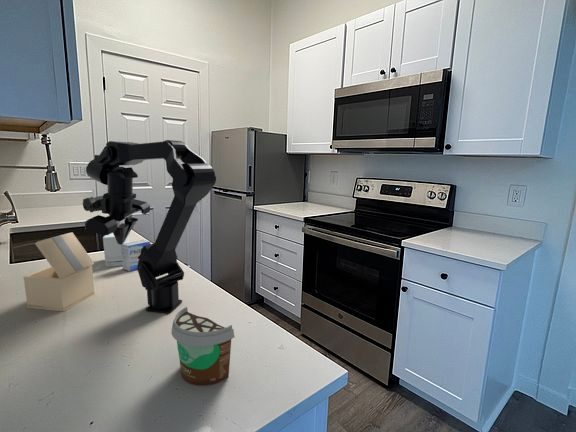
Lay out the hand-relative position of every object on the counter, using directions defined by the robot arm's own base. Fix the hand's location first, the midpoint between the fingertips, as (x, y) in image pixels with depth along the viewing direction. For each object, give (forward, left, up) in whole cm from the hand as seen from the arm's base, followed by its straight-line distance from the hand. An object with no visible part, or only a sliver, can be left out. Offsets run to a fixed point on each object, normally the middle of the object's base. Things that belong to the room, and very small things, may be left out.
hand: (120, 243), depth 89 cm
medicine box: (+7, -17, -13) cm, 23 cm away
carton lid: (+8, +10, -1) cm, 13 cm away
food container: (-36, +31, -13) cm, 49 cm away
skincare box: (+17, -21, -13) cm, 30 cm away
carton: (+10, +10, -13) cm, 19 cm away
